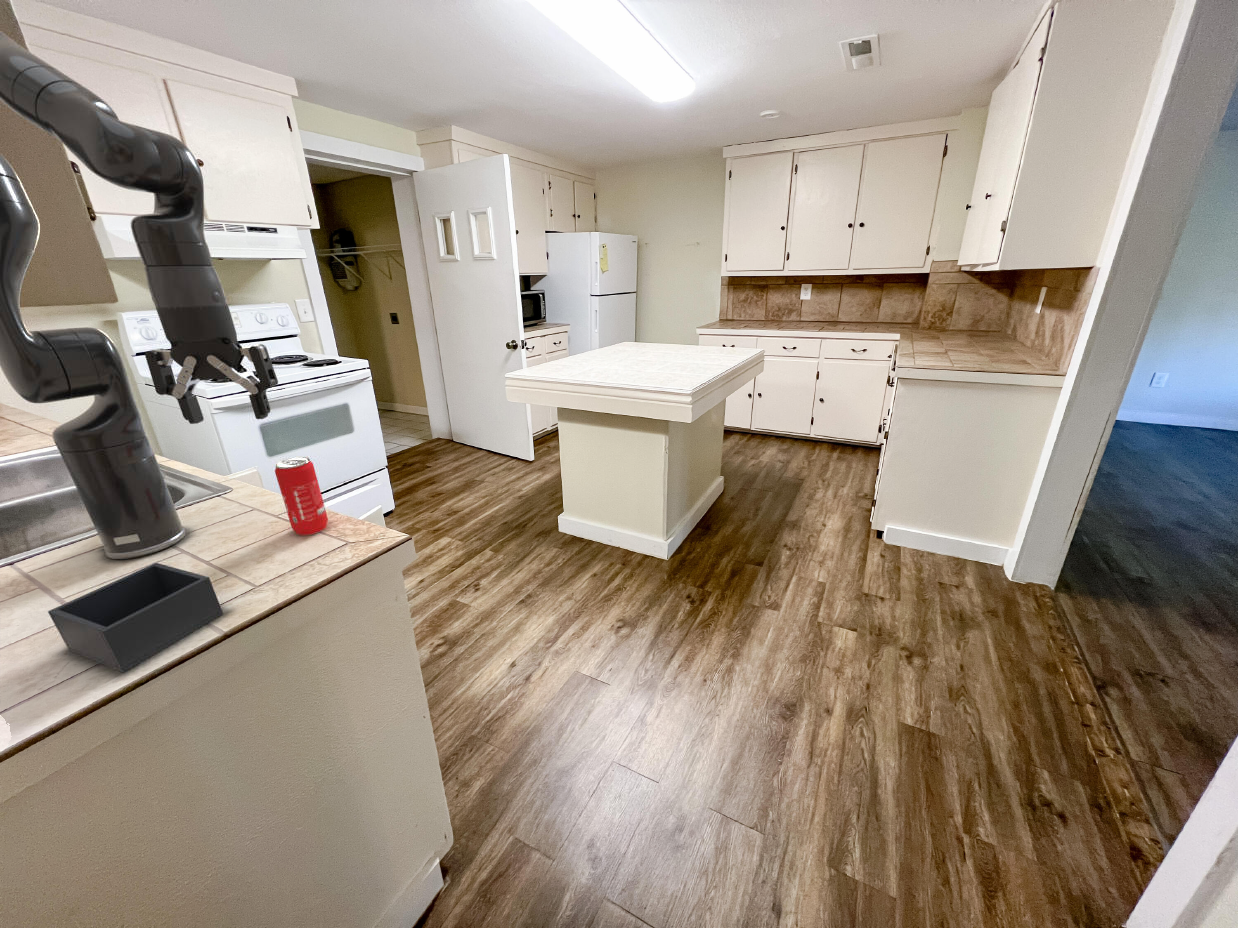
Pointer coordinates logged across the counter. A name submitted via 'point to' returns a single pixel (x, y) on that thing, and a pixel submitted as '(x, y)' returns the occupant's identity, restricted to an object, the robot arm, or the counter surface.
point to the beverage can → (301, 495)
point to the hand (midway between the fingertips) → (230, 420)
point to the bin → (136, 615)
